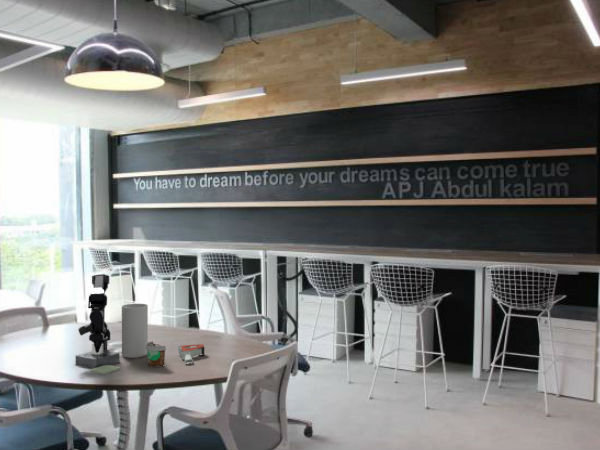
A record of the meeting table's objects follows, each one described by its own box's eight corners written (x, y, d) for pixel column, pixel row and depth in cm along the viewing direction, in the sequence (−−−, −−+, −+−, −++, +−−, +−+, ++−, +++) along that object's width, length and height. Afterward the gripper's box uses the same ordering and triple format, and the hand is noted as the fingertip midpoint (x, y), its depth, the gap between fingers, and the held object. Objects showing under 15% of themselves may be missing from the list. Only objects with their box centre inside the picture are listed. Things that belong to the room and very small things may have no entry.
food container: (140, 363, 267) (140, 343, 267) (152, 361, 272) (152, 341, 271) (154, 369, 259) (154, 347, 258) (165, 366, 263) (165, 345, 263)
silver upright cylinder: (98, 360, 272) (98, 342, 272) (105, 362, 270) (105, 343, 270) (89, 363, 268) (89, 344, 268) (97, 364, 266) (97, 345, 265)
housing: (99, 357, 279) (99, 349, 278) (119, 361, 272) (119, 352, 272) (75, 363, 266) (75, 355, 266) (96, 368, 260) (96, 359, 259)
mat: (106, 366, 263) (106, 364, 263) (119, 369, 258) (119, 367, 258) (90, 371, 255) (90, 369, 255) (104, 374, 250) (104, 372, 250)
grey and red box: (187, 369, 266) (215, 357, 283) (187, 358, 265) (215, 346, 282) (161, 361, 275) (189, 350, 292) (161, 351, 275) (189, 340, 291)
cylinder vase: (117, 354, 284) (117, 305, 283) (141, 350, 292) (141, 302, 291) (127, 359, 274) (127, 308, 274) (151, 355, 282) (151, 306, 282)
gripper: (81, 315, 275) (81, 347, 276) (77, 323, 257) (77, 357, 258) (105, 314, 278) (105, 346, 279) (103, 322, 260) (103, 355, 261)
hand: (97, 351), depth 269 cm, fingers closed on silver upright cylinder, 5 cm apart
